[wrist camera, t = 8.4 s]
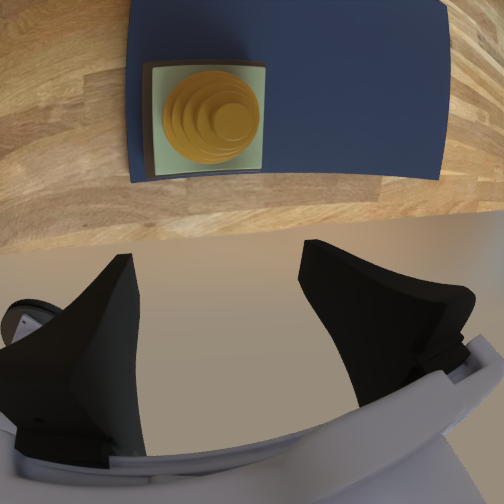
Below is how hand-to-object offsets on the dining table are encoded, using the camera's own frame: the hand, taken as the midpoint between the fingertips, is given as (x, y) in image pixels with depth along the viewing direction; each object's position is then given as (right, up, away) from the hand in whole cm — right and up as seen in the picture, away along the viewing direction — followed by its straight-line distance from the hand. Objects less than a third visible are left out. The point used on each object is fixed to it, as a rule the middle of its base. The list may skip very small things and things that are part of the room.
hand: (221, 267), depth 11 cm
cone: (-1, +7, +1) cm, 7 cm away
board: (+8, +17, +5) cm, 19 cm away
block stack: (-2, +10, +5) cm, 11 cm away
